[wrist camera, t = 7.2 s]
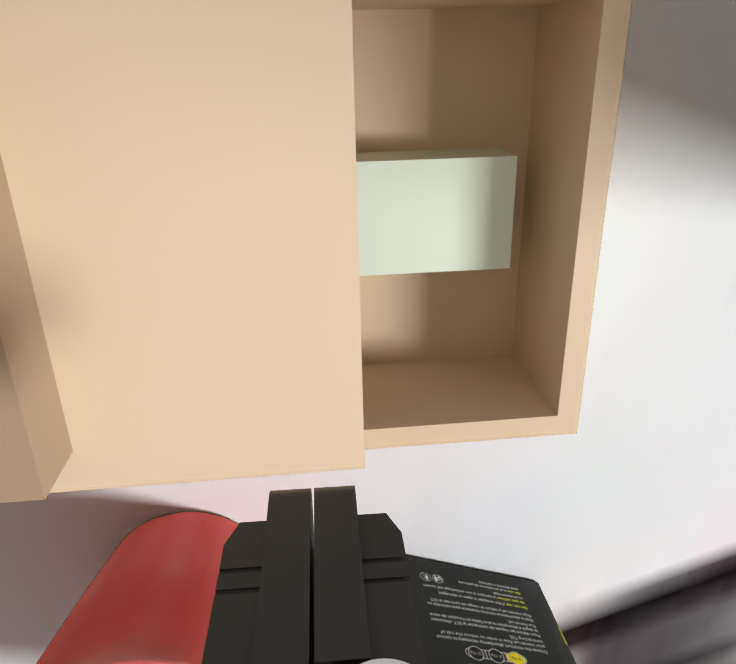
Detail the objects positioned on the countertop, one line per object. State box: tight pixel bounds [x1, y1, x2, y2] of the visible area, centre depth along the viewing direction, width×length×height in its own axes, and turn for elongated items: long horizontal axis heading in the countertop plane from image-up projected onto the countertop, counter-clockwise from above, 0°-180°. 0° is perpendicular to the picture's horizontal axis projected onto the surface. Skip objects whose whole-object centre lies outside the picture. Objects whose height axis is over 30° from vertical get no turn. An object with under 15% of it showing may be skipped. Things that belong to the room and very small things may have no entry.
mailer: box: [352, 0, 632, 450], centre depth 22 cm, size 20×15×6 cm
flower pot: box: [36, 512, 239, 664], centre depth 27 cm, size 11×11×10 cm
